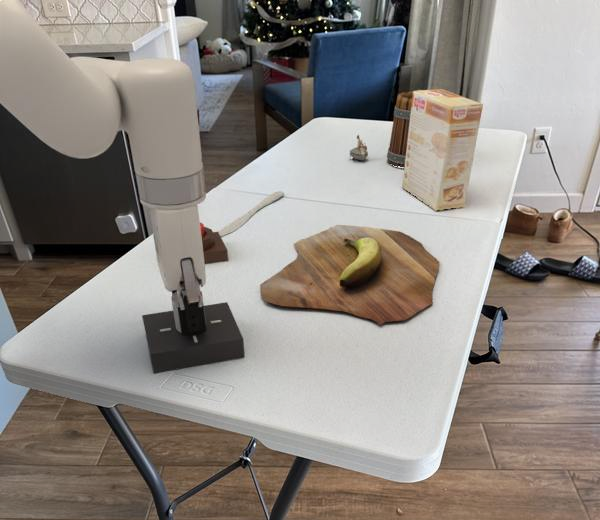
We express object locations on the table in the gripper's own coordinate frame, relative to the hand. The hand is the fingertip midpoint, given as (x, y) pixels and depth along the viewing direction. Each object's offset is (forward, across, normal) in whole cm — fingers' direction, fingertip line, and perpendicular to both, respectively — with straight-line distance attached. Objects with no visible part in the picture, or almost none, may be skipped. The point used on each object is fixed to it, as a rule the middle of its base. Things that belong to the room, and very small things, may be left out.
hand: (190, 322), depth 77 cm
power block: (+4, -28, +5) cm, 29 cm away
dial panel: (+4, 0, 0) cm, 4 cm away
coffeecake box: (+4, -40, +59) cm, 71 cm away
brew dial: (+1, 0, 0) cm, 1 cm away
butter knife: (+4, -43, +19) cm, 47 cm away
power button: (0, -28, +5) cm, 28 cm away
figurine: (+4, -69, +54) cm, 88 cm away
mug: (+4, -65, +66) cm, 93 cm away
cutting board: (+4, -14, +30) cm, 34 cm away
